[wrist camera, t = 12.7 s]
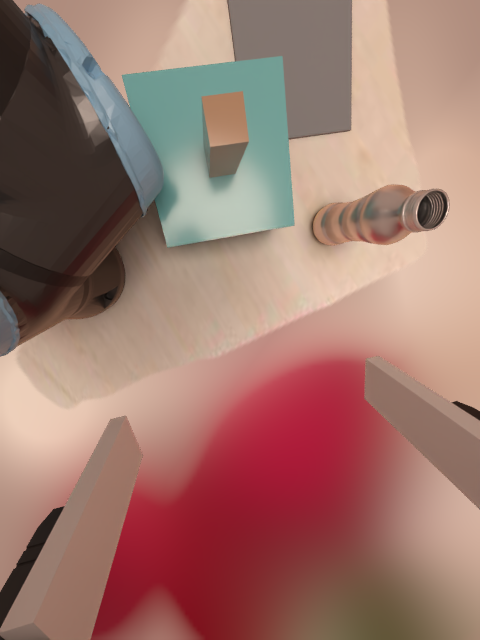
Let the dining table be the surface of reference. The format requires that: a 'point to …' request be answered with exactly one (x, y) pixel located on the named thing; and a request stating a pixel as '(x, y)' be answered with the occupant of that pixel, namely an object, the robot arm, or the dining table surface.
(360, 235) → the plastic bottle
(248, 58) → the mat
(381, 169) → the dining table surface
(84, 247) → the robot arm
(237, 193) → the teal base with peg
